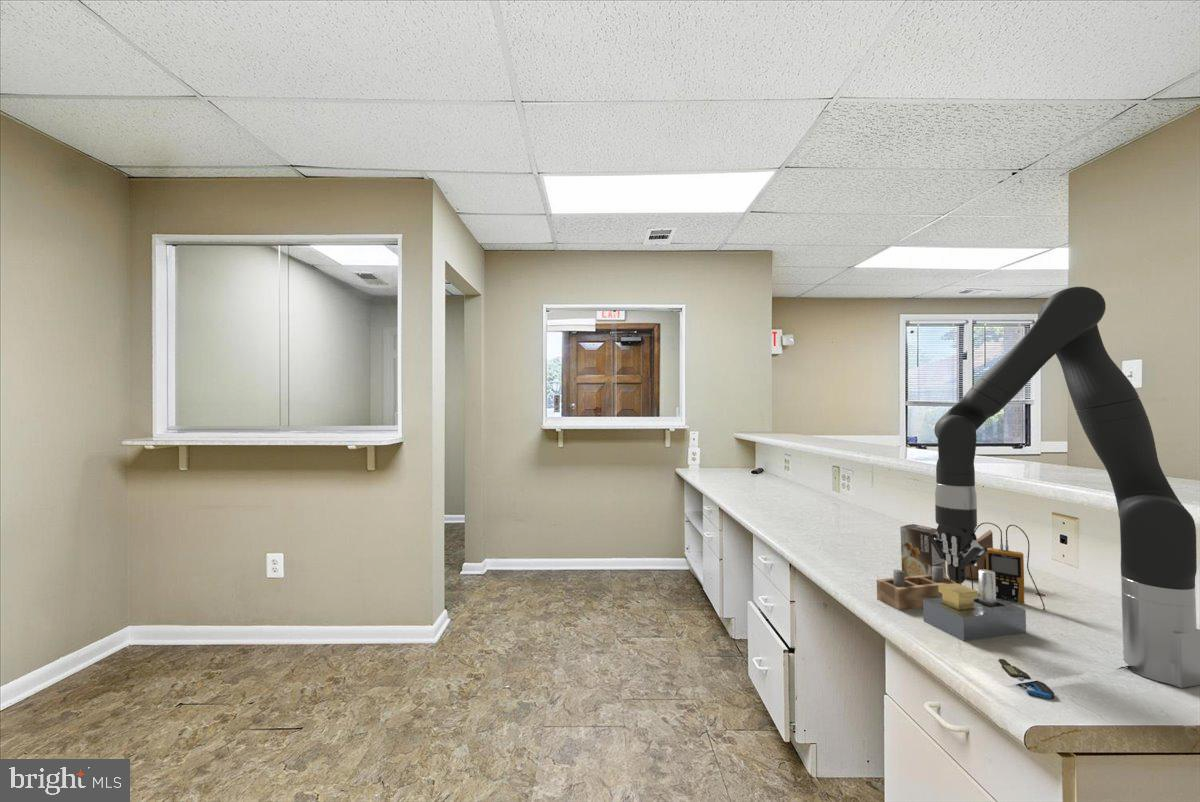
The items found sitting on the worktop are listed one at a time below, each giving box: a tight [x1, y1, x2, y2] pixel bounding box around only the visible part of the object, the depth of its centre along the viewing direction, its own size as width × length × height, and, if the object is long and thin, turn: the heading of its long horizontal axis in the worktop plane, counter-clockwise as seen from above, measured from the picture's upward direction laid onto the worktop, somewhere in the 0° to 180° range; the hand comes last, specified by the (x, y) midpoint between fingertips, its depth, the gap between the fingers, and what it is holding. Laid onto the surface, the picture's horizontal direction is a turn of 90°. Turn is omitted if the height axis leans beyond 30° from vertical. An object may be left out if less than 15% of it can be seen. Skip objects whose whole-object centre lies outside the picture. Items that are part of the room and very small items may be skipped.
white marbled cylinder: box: [977, 569, 997, 608], centre depth 111 cm, size 3×3×12 cm
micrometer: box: [997, 658, 1055, 699], centre depth 91 cm, size 12×2×5 cm
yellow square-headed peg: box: [938, 583, 979, 611], centre depth 109 cm, size 5×5×6 cm
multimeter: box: [969, 522, 1046, 611], centre depth 123 cm, size 15×10×20 cm
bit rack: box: [876, 566, 963, 611], centre depth 125 cm, size 19×7×9 cm, turn 102°
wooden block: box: [946, 529, 994, 580], centre depth 144 cm, size 4×11×18 cm, turn 59°
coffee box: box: [899, 523, 947, 577], centre depth 138 cm, size 9×6×16 cm
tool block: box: [922, 592, 1027, 642], centre depth 110 cm, size 16×10×6 cm, turn 102°
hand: (956, 581), depth 109 cm, fingers closed
